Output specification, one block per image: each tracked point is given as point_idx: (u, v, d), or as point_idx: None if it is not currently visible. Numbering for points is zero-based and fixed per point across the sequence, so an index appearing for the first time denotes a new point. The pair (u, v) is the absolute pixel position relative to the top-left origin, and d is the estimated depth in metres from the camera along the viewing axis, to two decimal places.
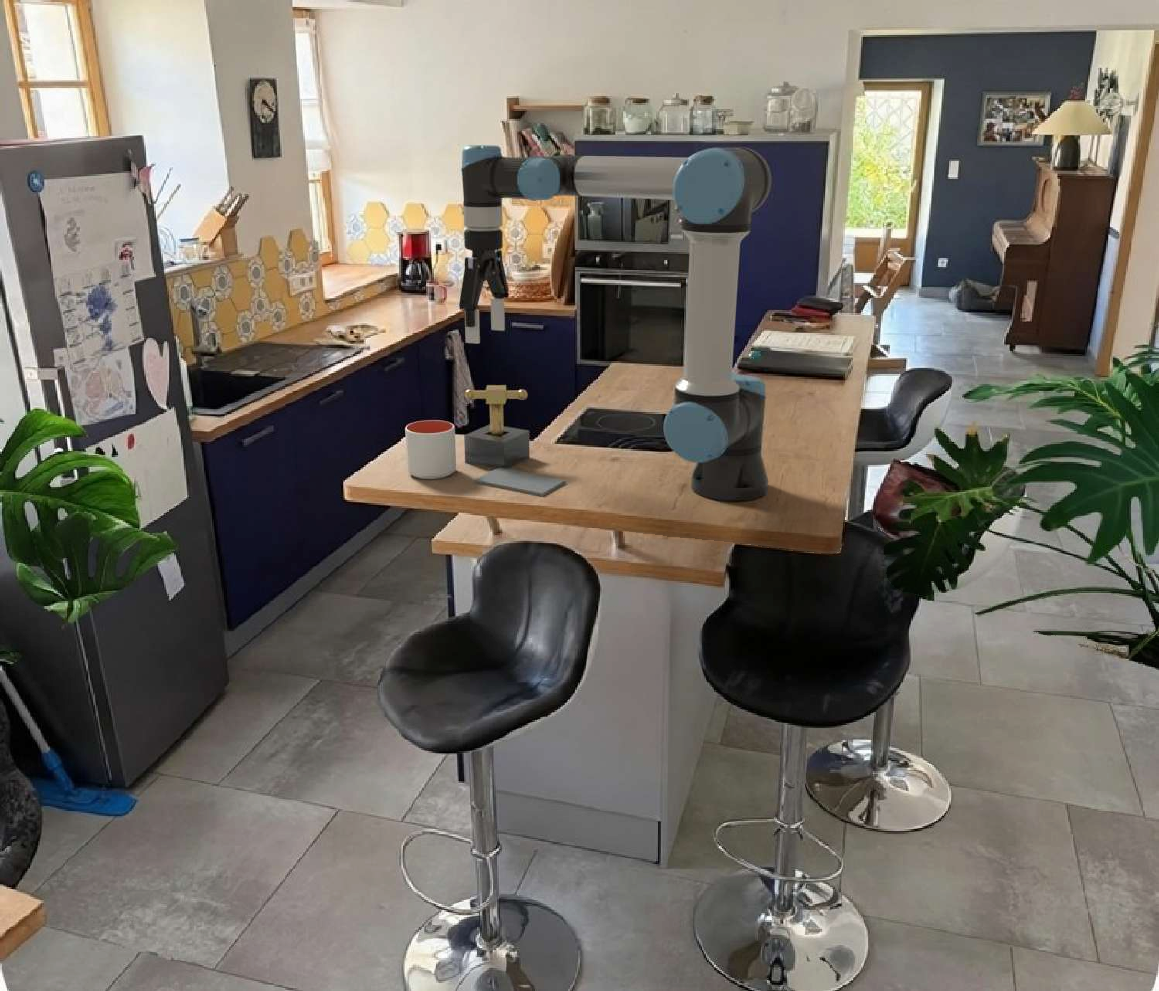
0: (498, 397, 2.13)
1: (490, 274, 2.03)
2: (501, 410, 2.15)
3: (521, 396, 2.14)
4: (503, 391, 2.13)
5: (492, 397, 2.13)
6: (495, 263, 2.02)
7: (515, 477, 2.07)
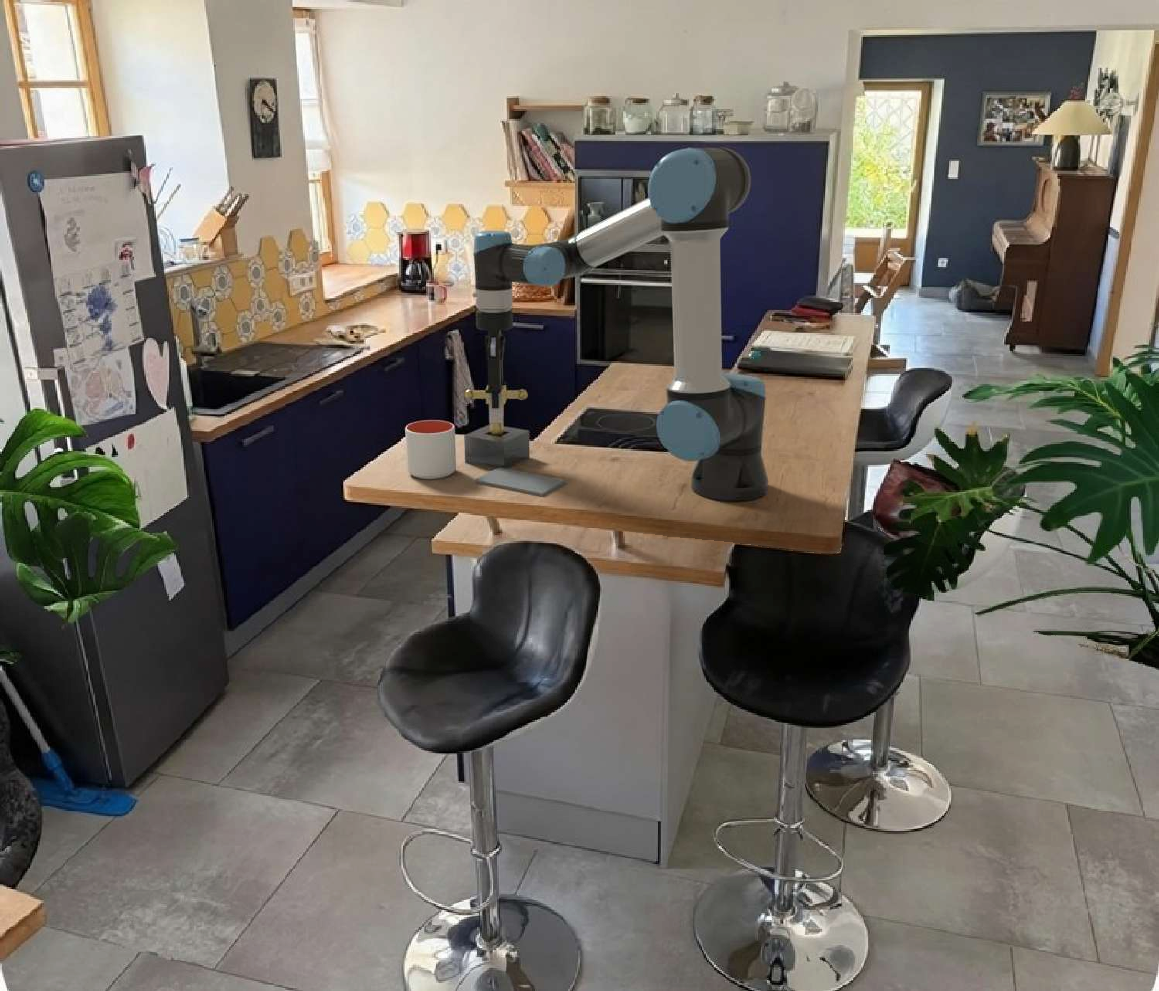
0: None
1: None
2: None
3: (521, 396, 2.14)
4: (503, 391, 2.13)
5: None
6: (504, 340, 2.12)
7: (515, 477, 2.07)
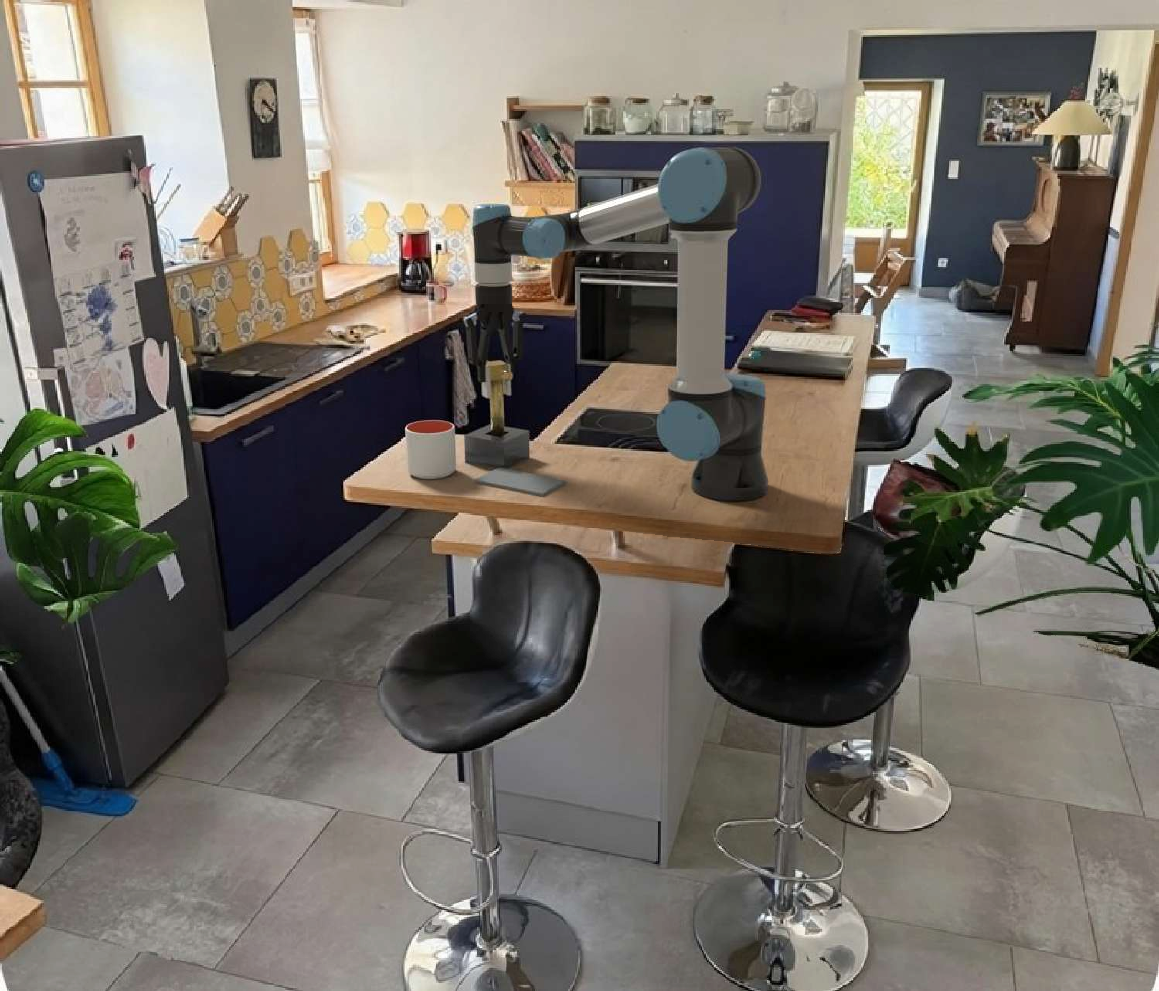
0: None
1: (500, 327, 2.09)
2: (495, 387, 2.13)
3: (502, 376, 2.08)
4: (490, 367, 2.10)
5: None
6: (503, 317, 2.08)
7: (515, 477, 2.07)
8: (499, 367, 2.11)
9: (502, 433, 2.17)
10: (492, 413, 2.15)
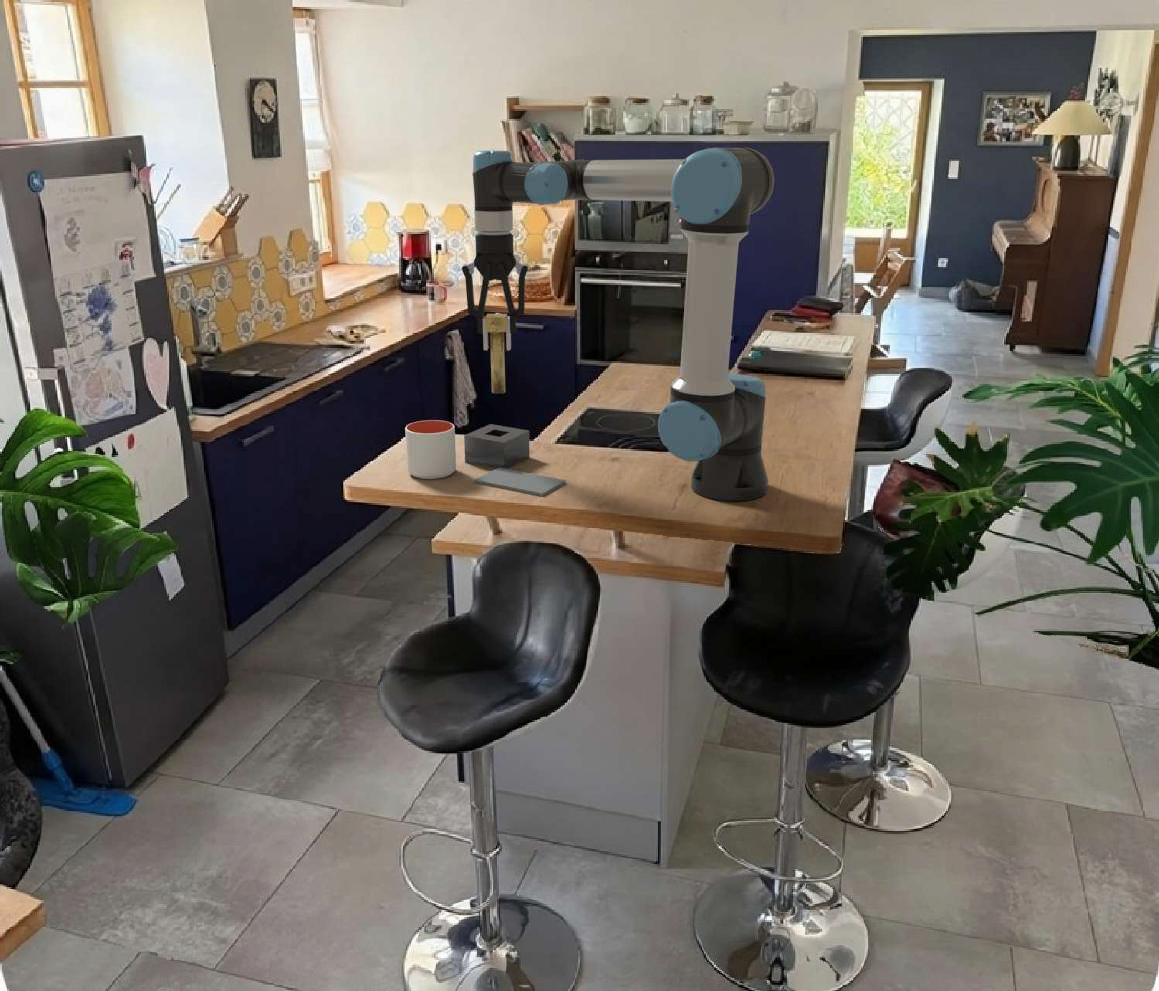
0: None
1: (498, 278, 2.04)
2: (492, 339, 2.09)
3: None
4: (486, 318, 2.07)
5: None
6: (500, 268, 2.03)
7: (515, 477, 2.07)
8: (495, 319, 2.06)
9: (500, 388, 2.12)
10: (491, 366, 2.11)
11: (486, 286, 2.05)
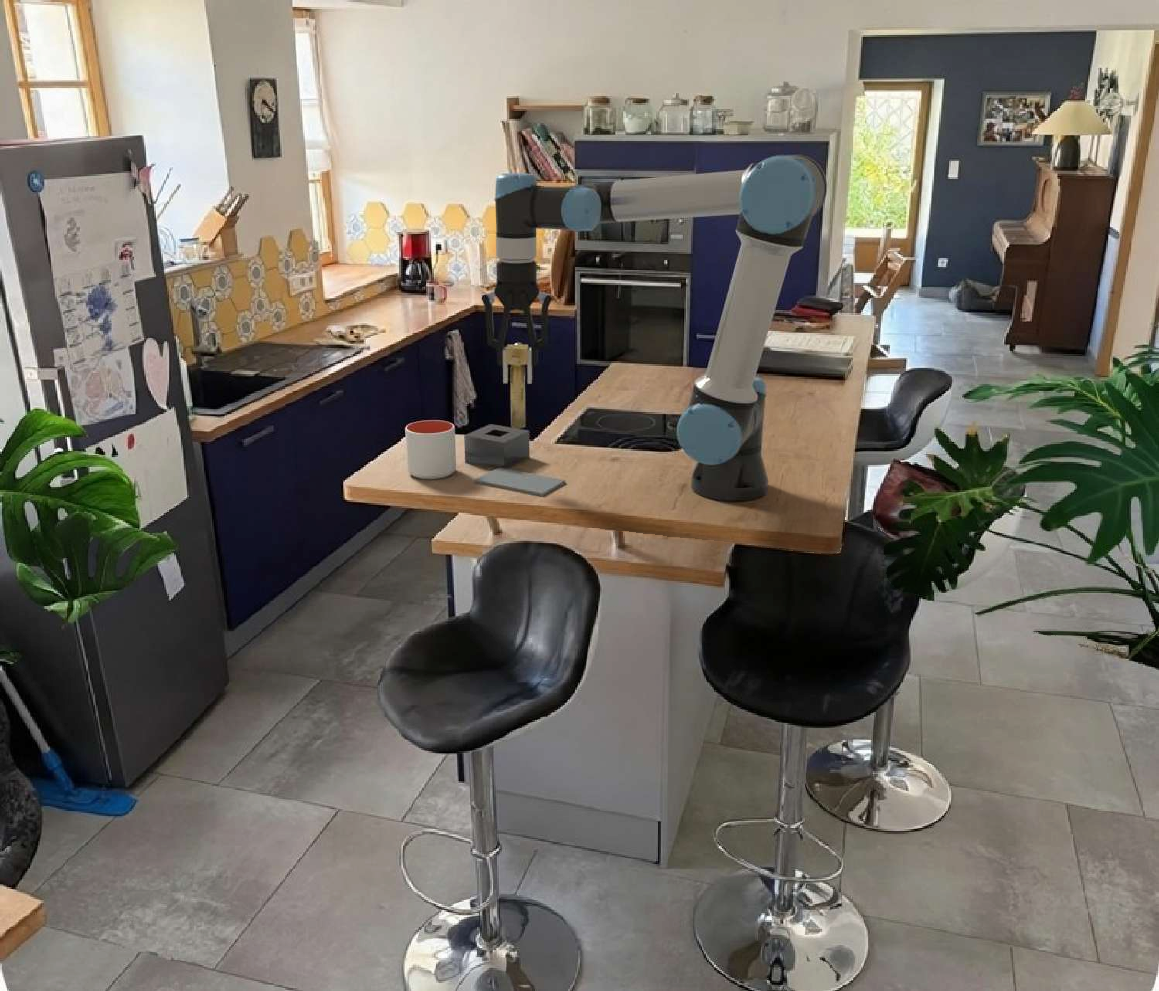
0: None
1: (520, 308, 1.93)
2: (513, 372, 1.97)
3: (510, 360, 1.92)
4: None
5: None
6: (522, 297, 1.91)
7: (515, 477, 2.07)
8: (516, 351, 1.95)
9: (520, 423, 2.01)
10: (511, 400, 2.00)
11: (507, 316, 1.93)
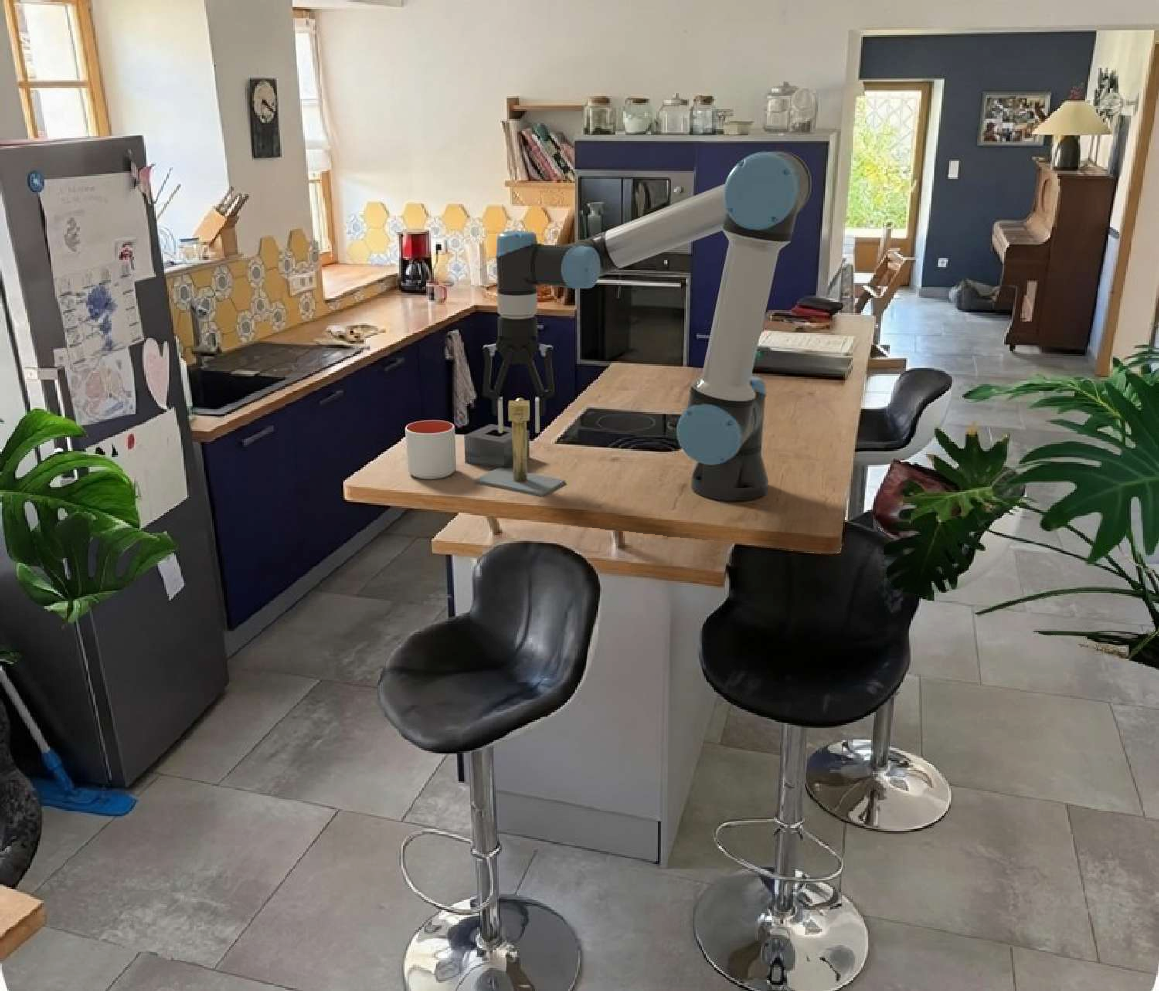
0: None
1: (521, 362, 1.97)
2: (515, 428, 2.01)
3: (512, 418, 1.96)
4: (508, 407, 1.99)
5: None
6: (523, 352, 1.95)
7: None
8: (518, 408, 1.99)
9: (522, 477, 2.05)
10: (513, 455, 2.04)
11: (506, 369, 1.97)
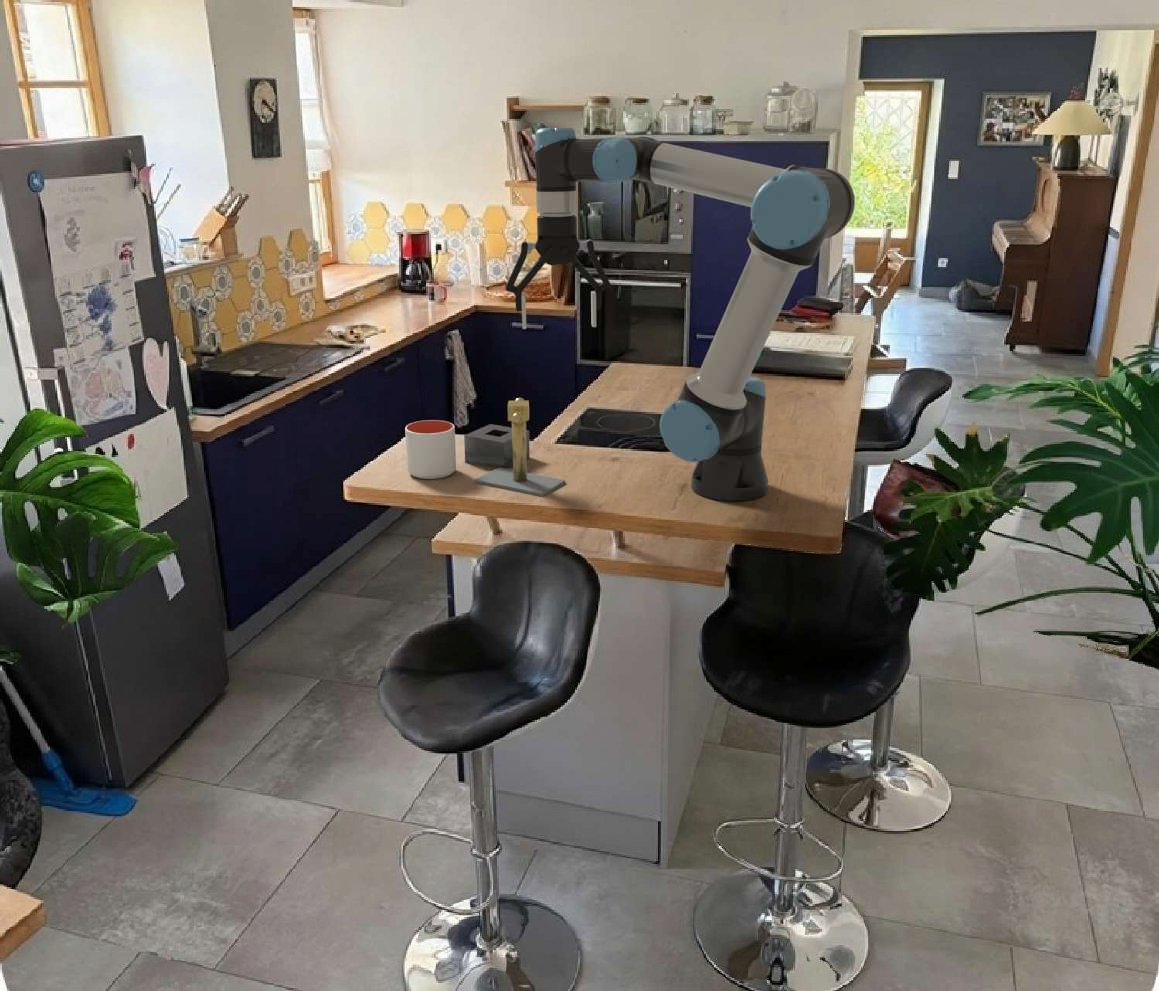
0: None
1: (561, 263, 1.94)
2: (514, 428, 2.01)
3: (511, 418, 1.96)
4: None
5: None
6: (564, 252, 1.93)
7: None
8: (517, 408, 1.99)
9: (522, 477, 2.05)
10: (513, 455, 2.04)
11: (539, 268, 1.94)
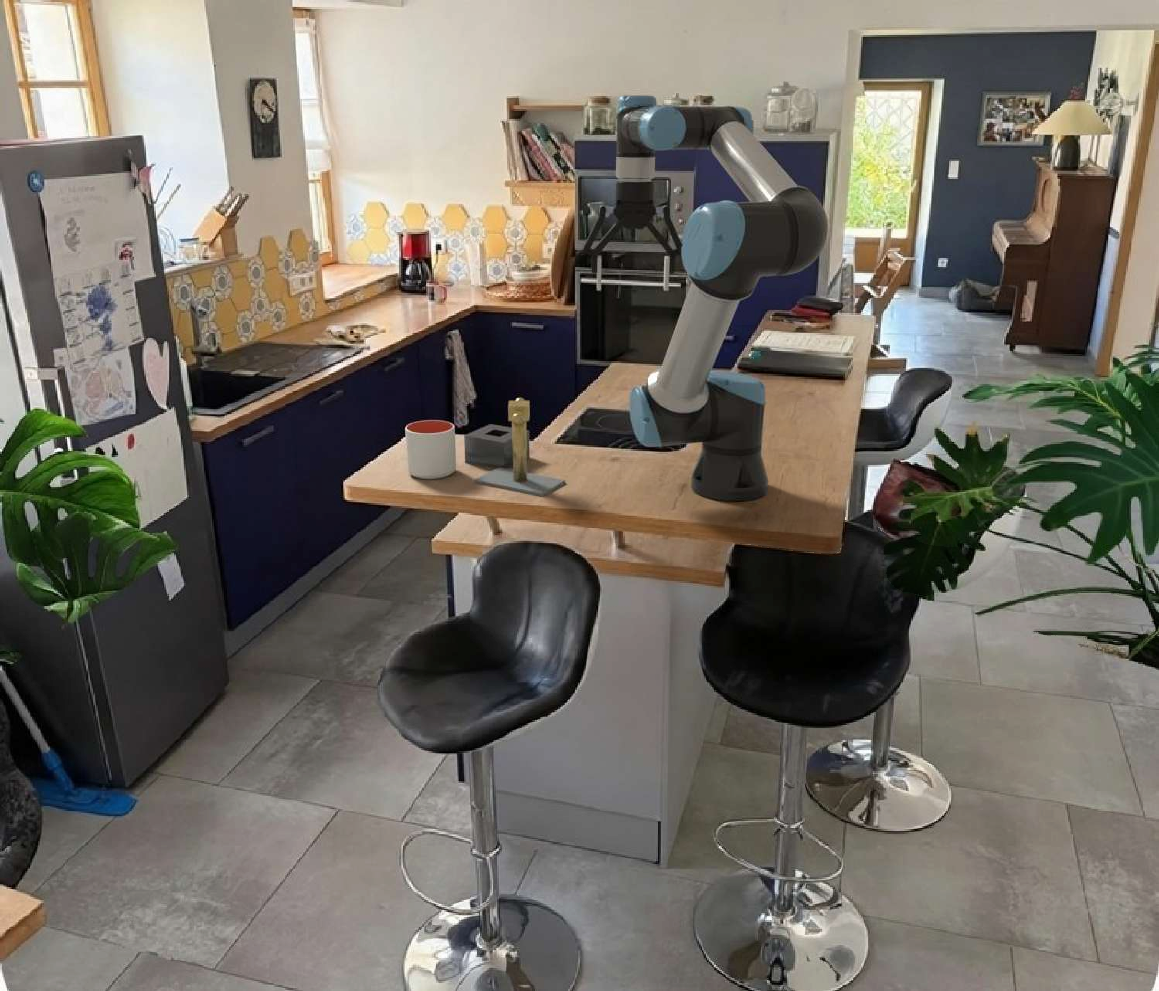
0: None
1: (637, 227, 2.01)
2: (515, 428, 2.01)
3: (512, 419, 1.96)
4: (508, 407, 1.99)
5: None
6: (641, 216, 2.00)
7: None
8: (518, 408, 1.99)
9: (522, 477, 2.05)
10: (513, 455, 2.04)
11: (616, 231, 2.01)
